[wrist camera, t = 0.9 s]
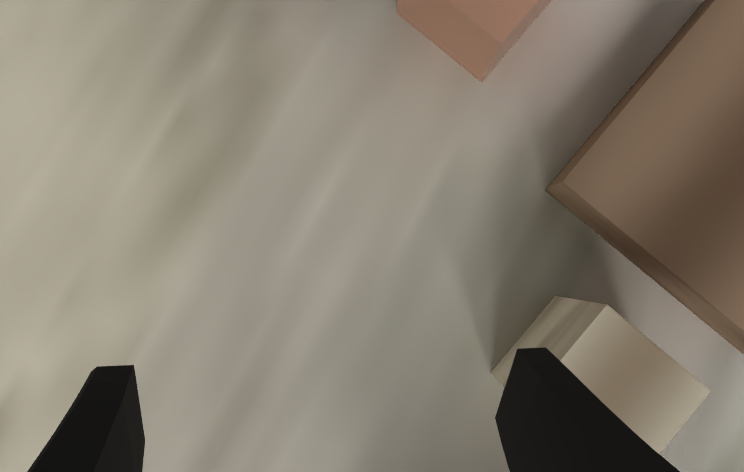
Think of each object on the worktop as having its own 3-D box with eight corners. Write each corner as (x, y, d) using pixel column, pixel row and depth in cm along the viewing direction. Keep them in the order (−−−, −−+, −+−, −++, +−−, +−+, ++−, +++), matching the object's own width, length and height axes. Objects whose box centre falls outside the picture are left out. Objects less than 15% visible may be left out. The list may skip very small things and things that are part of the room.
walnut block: (892, 161, 26) (959, 147, 22) (736, 351, 25) (782, 362, 22) (697, 7, 26) (737, -27, 23) (542, 191, 26) (562, 181, 23)
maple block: (633, 361, 25) (711, 391, 19) (569, 439, 25) (626, 494, 19) (554, 295, 25) (607, 304, 19) (490, 373, 25) (522, 405, 19)
